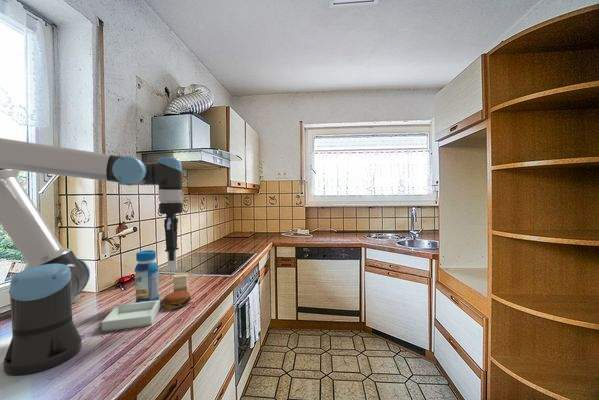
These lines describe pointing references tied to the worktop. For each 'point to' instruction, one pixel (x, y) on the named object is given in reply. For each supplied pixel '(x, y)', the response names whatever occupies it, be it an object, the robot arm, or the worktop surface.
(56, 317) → the robot arm
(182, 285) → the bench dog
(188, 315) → the worktop surface
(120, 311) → the tray
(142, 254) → the blue supplement bottle
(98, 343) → the worktop surface
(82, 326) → the worktop surface
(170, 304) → the burger
